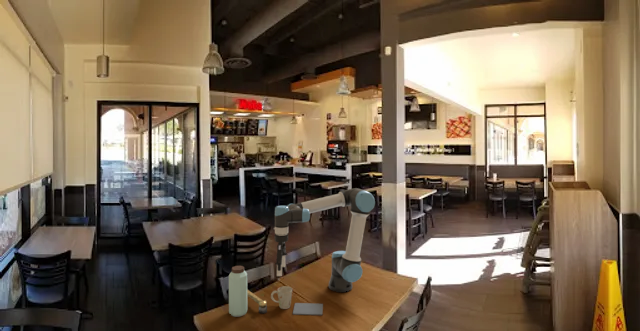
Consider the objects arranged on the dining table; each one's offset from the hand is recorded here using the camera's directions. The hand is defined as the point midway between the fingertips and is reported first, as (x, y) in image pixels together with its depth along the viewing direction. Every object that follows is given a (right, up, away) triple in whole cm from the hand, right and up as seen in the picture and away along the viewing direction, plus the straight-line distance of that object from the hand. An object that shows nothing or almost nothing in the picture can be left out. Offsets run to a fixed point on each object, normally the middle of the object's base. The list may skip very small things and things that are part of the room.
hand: (281, 271), depth 195 cm
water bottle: (-22, -21, -7) cm, 31 cm away
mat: (+15, -21, -2) cm, 26 cm away
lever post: (-9, -21, -5) cm, 23 cm away
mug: (0, -20, +2) cm, 21 cm away
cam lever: (-16, -17, +3) cm, 24 cm away
